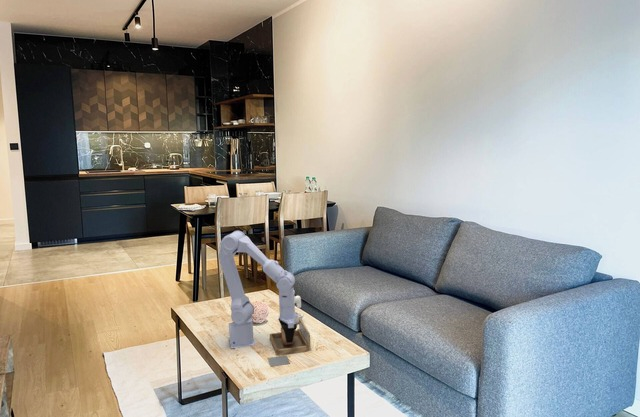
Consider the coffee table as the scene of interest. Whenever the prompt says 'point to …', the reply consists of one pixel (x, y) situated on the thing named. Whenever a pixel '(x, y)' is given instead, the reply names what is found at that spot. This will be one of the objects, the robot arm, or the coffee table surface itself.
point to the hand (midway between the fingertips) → (288, 339)
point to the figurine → (298, 301)
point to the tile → (278, 360)
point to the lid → (304, 332)
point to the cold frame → (296, 347)
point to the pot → (285, 338)
